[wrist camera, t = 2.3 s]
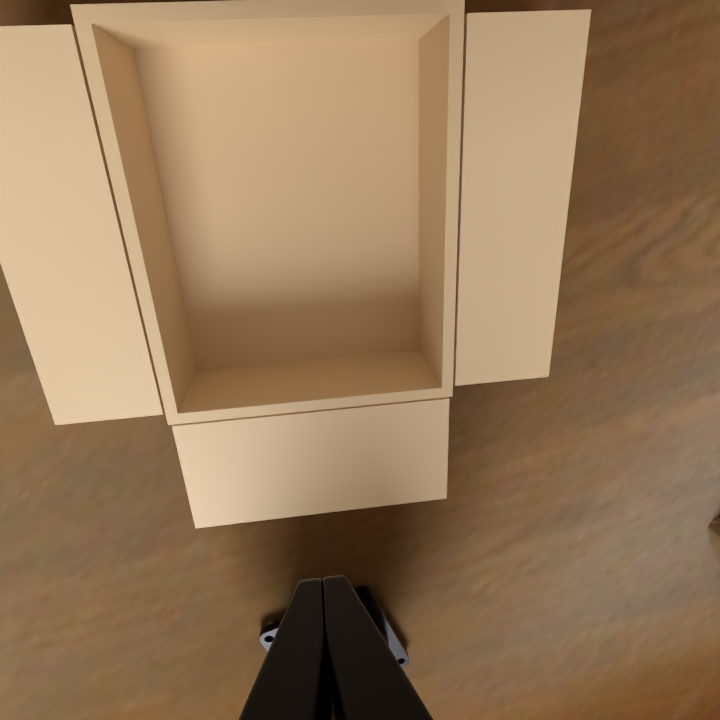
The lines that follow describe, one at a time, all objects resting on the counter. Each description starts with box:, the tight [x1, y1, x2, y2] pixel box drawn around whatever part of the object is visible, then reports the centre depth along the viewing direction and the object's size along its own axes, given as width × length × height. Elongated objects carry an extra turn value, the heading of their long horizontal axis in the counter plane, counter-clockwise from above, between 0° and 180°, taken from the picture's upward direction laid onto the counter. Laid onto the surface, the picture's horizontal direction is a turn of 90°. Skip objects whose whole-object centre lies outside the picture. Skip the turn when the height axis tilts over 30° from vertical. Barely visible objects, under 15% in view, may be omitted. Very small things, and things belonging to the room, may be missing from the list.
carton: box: [0, 0, 591, 528], centre depth 18 cm, size 17×17×4 cm
